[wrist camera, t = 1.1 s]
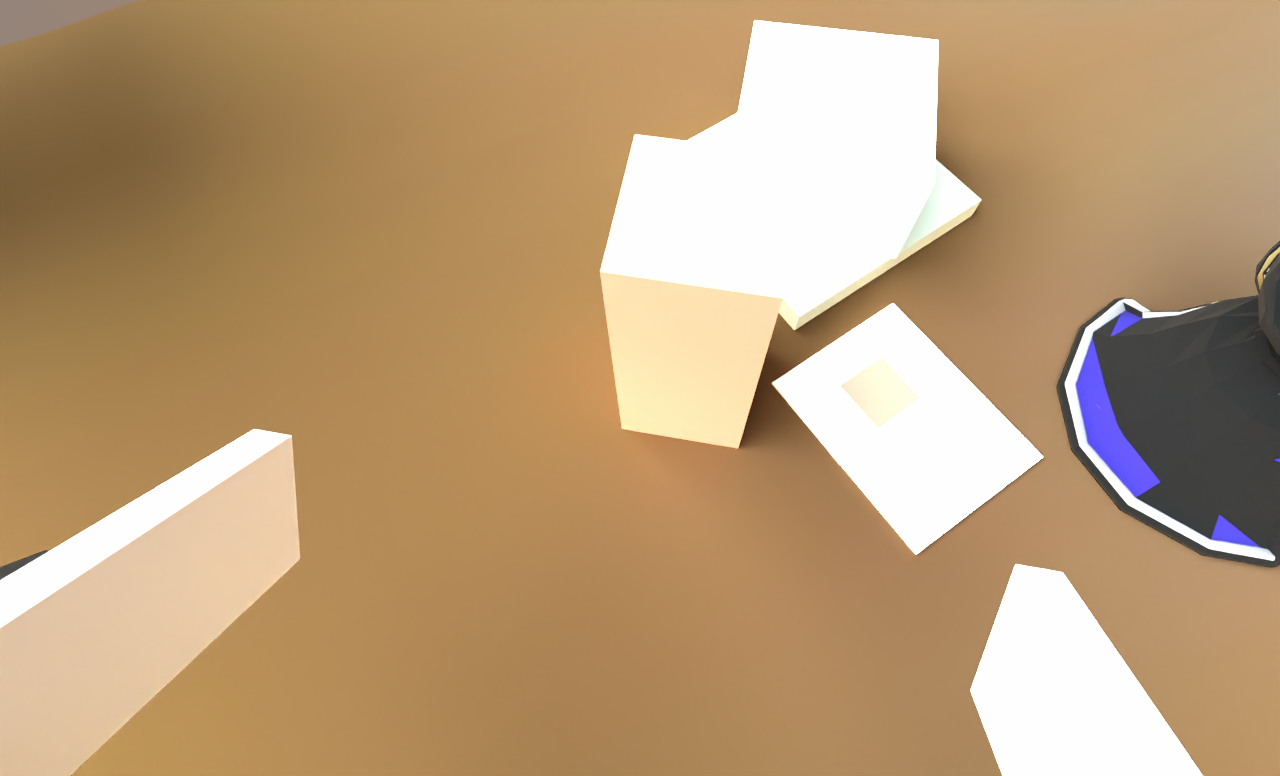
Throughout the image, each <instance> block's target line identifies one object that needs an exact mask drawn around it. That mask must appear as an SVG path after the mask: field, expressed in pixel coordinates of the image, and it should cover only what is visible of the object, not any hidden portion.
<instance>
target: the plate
mask: <svg viewBox="0 0 1280 776" xmlns="http://www.w3.org/2000/svg"><path fill="white" fill-rule="evenodd" d="M737 115H738V113H736V114H734V115H732V116H731V117H729V118H727V119H725V120H723V121H722V122H720V123H718V124H716V125H714V126H712V127H711V128H709V129H707V130H705V131H703V132H702V133H700V134H698V135H696V136H694V137H692V138H691V139H689V140H687V141H692V142H700V143H708V144H716V145H724V146H732V143H733V137H734V132H735V126H736V120H737ZM980 202H981V199H980V198H979V197H978V196H977V195H976V194H975V193H973V192H972V191H971V190H970V189H969V188H968V187H967V186H966V185H964V184H963V183H962V182H961V181H960V180H959V179H958V178H957V177H955V176H954V175H953V174H952V173H951V172H950V171H949V170H948V169H946V168H945V167H944V166H943V165H942V164H941V163H940V162H939V161H938V160H936V159H935V185H934V187H933V189H932V191H931V192H930V194H929V196H928V198H927V200H926V202H925V204H924V206H923V208H922V210H921V212H920V214H919V216H918V217H917V219H916V221H915V223H914V225H913V227H912V229H911V231H910V233H909V235H908V237H907V239H906V241H905V243H904V244H903V246H902V248H901V250H900V252H899V254H898V256H897V258H896V259H894V258H887V257H880V256H873V255H865V254H858V253H851V252H844V251H837V250H829V249H822V248H815V247H808V246H801V245H793V244H789V252H788V260H787V268H786V275H785V283H784V291H783V299H782V302H781V306H780V309H779V312H778V313H779V314H780V315H781V316H782V317H783V318H784V319H785V321H786V322H787V323H788V324H789V325H790V326H791V327H792V328H793V330H796V329H797V328H799V327H800V326H802V325H804V324H805V323H807V322H808V321H810V320H811V319H813V318H814V317H816V316H818V315H819V314H821V313H822V312H824V311H825V310H827V309H828V308H830V307H831V306H833V305H835V304H836V303H838V302H839V301H841V300H842V299H844V298H845V297H847V296H849V295H850V294H852V293H853V292H855V291H856V290H858V289H859V288H861V287H862V286H864V285H866V284H867V283H869V282H870V281H872V280H873V279H875V278H876V277H878V276H880V275H881V274H883V273H884V272H886V271H887V270H889V269H890V268H892V267H893V266H895V265H897V264H898V263H900V262H901V261H903V260H904V259H906V258H907V257H909V256H911V255H912V254H914V253H915V252H917V251H918V250H920V249H921V248H923V247H924V246H926V245H928V244H929V243H931V242H932V241H934V240H935V239H937V238H938V237H940V236H941V235H943V234H945V233H946V232H948V231H949V230H951V229H952V228H954V227H955V226H957V225H959V224H960V223H962V222H963V221H965V220H966V219H968V218H969V217H971V216H972V215H973V213H974V211H975V210H976V208H977V207H978V205H979V203H980Z"/></svg>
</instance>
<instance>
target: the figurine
mask: <svg viewBox="0 0 1280 776" xmlns="http://www.w3.org/2000/svg"><path fill="white" fill-rule="evenodd" d="M1255 283H1256V287H1257V290H1258V293H1259V295H1258V296H1251V297H1244V298H1237V299H1230V300H1223V301H1218V302H1214V303H1210V304H1205V305H1201V306H1197V307H1193V308H1188V309H1184V310H1180V311H1149V310H1148V309H1146V308H1145V307H1143V306H1142V305H1140V304H1139V303H1137V302H1136V301H1134V300H1131V299H1128V298H1119V299H1115V300H1113V301H1112V302H1111V303H1110V304H1109V305H1107V306H1106V307H1105V308H1104V309H1102V310H1101V311H1100V312H1099V313H1097V314H1096V315H1095V316H1094V317H1092V318H1091V319H1090V320H1089V321H1087V322H1086V323H1085V324H1084V325H1082V326H1081V327H1080V329H1079V331H1078V334H1077V336H1076V339H1075V341H1074V344H1073V347H1072V349H1071V352H1070V354H1069V357H1068V359H1067V362H1066V365H1065V367H1064V370H1063V372H1062V375H1061V378H1060V380H1059V383H1058V385H1057V390H1058V394H1059V399H1060V403H1061V407H1062V411H1063V415H1064V420H1065V424H1066V428H1067V432H1068V437H1069V441H1070V445H1071V449H1072V451H1073V452H1074V453H1075V454H1076V456H1077V457H1078V458H1079V459H1080V461H1081V462H1082V463H1083V464H1084V466H1085V467H1086V468H1087V469H1088V471H1089V472H1090V473H1091V474H1092V475H1093V477H1094V478H1095V479H1096V480H1097V482H1098V483H1099V484H1100V485H1101V487H1102V488H1103V489H1104V490H1105V492H1106V493H1107V494H1108V495H1109V496H1110V498H1111V499H1112V500H1113V501H1114V503H1115V504H1116V505H1117V506H1118V508H1119V509H1120V510H1122V511H1124V512H1125V513H1127V514H1129V515H1131V516H1133V517H1134V518H1136V519H1138V520H1140V521H1142V522H1143V523H1145V524H1147V525H1149V526H1151V527H1152V528H1154V529H1156V530H1158V531H1160V532H1161V533H1163V534H1165V535H1167V536H1169V537H1170V538H1172V539H1174V540H1176V541H1178V542H1179V543H1181V544H1183V545H1185V546H1187V547H1188V548H1190V549H1192V550H1194V551H1196V552H1198V553H1199V554H1201V555H1205V556H1211V557H1216V558H1222V559H1227V560H1233V561H1238V562H1244V563H1249V564H1255V565H1260V566H1266V567H1275V566H1278V565H1280V241H1279V242H1278V243H1277V244H1276V245H1275V246H1273V247H1272V248H1271V249H1270V250H1269V252H1268V253H1267V254H1266V255H1265V256H1264V258H1263V259H1262V260H1261V261H1260V262H1259V264H1258V265H1257V268H1256V275H1255Z"/></svg>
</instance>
